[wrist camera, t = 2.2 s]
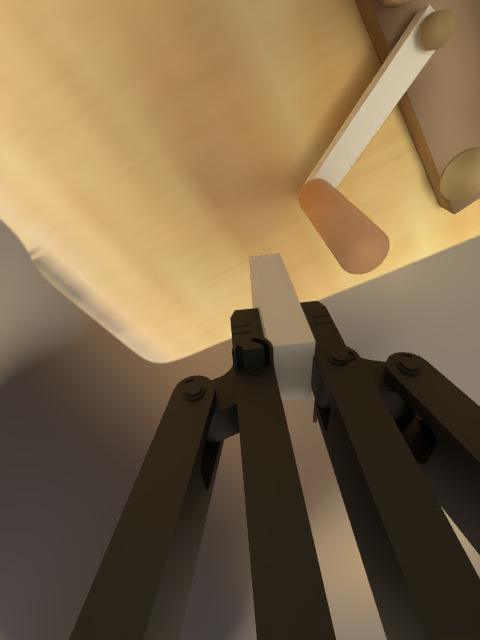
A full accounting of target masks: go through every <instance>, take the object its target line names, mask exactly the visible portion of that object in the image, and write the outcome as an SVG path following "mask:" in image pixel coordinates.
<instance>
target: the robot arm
mask: <svg viewBox="0 0 480 640" xmlns="http://www.w3.org/2000/svg"><path fill="white" fill-rule="evenodd" d="M249 262H250V277H251V292H252V305H253V309H244V310H235V311H234V313H233V315H232V316H231V318H230V319H231V331H232V343H233V348H232V356H233V366H232V368H231V369H230V370H229V371H228V372H227V373H226V374H225V375H223V376H221V377H219V378H216V379H214V380H210V379H208V378H207V377H204V376H200V375H199V376H191V377H188V378H185V379H183V380H182V381H181V382H179V383H178V384H177V386H176V387H175V389H174V391H173V393H172V395H171V398H170V400H169V403H168V405H167V407H166V410H165V412H164V415H163V417H162V419H161V422H160V424H159V427H158V429H157V431H156V434H155V436H154V438H153V441H152V443H151V446H150V448H149V450H148V452H147V455H146V457H145V460H144V462H143V464H142V467H141V469H140V471H139V474H138V476H137V479H136V481H135V483H134V486H133V488H132V491H131V493H130V495H129V498H128V500H127V502H126V505H125V507H124V510H123V512H122V515H121V517H120V519H119V522H118V524H117V526H116V529H115V532H114V533H113V536H112V538H111V541H110V543H109V545H108V548H107V550H106V553H105V555H104V557H103V560H102V562H101V564H100V567H99V569H98V572H97V574H96V577H95V579H94V581H93V584H92V586H91V588H90V591H89V593H88V595H87V598H86V600H85V603H84V605H83V607H82V610H81V612H80V615H79V617H78V620H77V622H76V625H75V627H74V629H73V631H72V634H71V636H70V639H69V640H179V638H180V634H181V629H182V625H183V620H184V616H185V611H186V606H187V602H188V598H189V594H190V589H191V584H192V580H193V576H194V571H195V567H196V562H197V558H198V553H199V549H200V545H201V540H202V536H203V531H204V527H205V522H206V518H207V513H208V509H209V504H210V500H211V496H212V491H213V486H214V482H215V478H216V473H217V469H218V464H219V460H220V455H221V451H222V446H223V442H224V439H226V438H228V437H231V436H233V435H235V434H237V433H240V443H241V456H242V468H243V480H244V492H245V504H246V516H247V527H248V539H249V550H250V563H251V574H252V587H253V597H254V609H255V622H256V633H257V640H336V637H335V633H334V629H333V624H332V620H331V615H330V611H329V607H328V602H327V598H326V593H325V589H324V584H323V580H322V576H321V571H320V567H319V562H318V558H317V554H316V549H315V545H314V540H313V536H312V532H311V527H310V523H309V518H308V514H307V510H306V505H305V501H304V497H303V492H302V487H301V483H300V479H299V474H298V470H297V466H296V461H295V457H294V452H293V448H292V444H291V439H290V435H289V430H288V426H287V421H286V417H285V413H284V408H283V404H282V400H290V399H298V398H308V397H311V389H312V391H313V394H314V397H315V403H314V413H313V422H314V423H315V422H316V421H317V419H318V421H319V425H320V428H321V431H322V434H323V438H324V441H325V444H326V447H327V450H328V454H329V457H330V460H331V463H332V466H333V469H334V473H335V476H336V479H337V482H338V485H339V489H340V491H341V495H342V498H343V501H344V504H345V508H346V511H347V514H348V517H349V520H350V523H351V527H352V530H353V533H354V536H355V539H356V542H357V546H358V549H359V552H360V555H361V558H362V562H363V564H364V568H365V571H366V574H367V578H368V581H369V584H370V587H371V590H372V593H373V597H374V600H375V603H376V606H377V609H378V612H379V616H380V619H381V622H382V625H383V628H384V632H385V635H386V638H387V640H480V578H479V576H478V575H477V573H476V571H475V569H474V567H473V565H472V563H471V562H470V560H469V558H468V556H467V554H466V552H465V551H464V549H463V547H462V545H461V543H460V541H459V539H458V538H457V536H456V534H455V532H454V530H453V528H452V526H451V525H450V523H449V521H448V519H447V517H446V515H445V514H444V512H443V510H442V508H443V509H444V510H445V511H446V513H447V514H448V516H449V517H450V518H451V519H452V521H453V522H454V523H455V524H456V525H457V527H458V528H459V529H460V531H461V532H462V533H463V534H464V536H465V537H466V538H467V539H468V541H469V542H470V543H471V545H472V546H473V547H474V548H475V550H476V551H477V552H478V554H479V555H480V406H478V405H477V404H476V403H475V402H474V401H472V400H471V399H470V398H469V397H468V396H467V395H466V394H465V393H463V392H462V391H461V390H460V389H459V388H458V387H456V386H455V385H454V384H453V383H452V382H451V381H449V380H448V379H447V378H446V377H445V376H444V375H442V374H441V373H440V372H439V371H438V370H437V369H435V368H434V367H433V366H432V365H430V363H428V362H427V361H426V360H424V359H423V358H421V357H420V356H417V355H415V354H412V353H405V352H399V353H394V354H392V355H390V356H389V357H388V359H387V361H386V362H381V361H374V360H368V359H363V358H361V357H360V356H359V355H358V354H357V353H356V352H355V351H354V350H353V349H351V348H349V347H347V346H346V345H345V343H344V341H343V339H342V338H341V335H340V334H339V331H338V329H337V328H336V326H335V324H334V323H333V320H332V318H331V317H330V314H329V312H328V310H327V308H326V307H325V306H324V305H322V304H321V303H320V302H318V301H311V302H302V303H300V302H299V300H298V297H297V295H296V292H295V290H294V287H293V285H292V282H291V280H290V277H289V275H288V272H287V270H286V268H285V265H284V263H283V260H282V258H281V255H280V254H271V255H261V256H251V257H249ZM440 505H441V506H440ZM441 507H442V508H441Z"/></svg>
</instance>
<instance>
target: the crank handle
mask: <svg viewBox="0 0 480 640" xmlns="http://www.w3.org/2000/svg"><path fill="white" fill-rule="evenodd" d="M432 12H435V10H434V9H433V8H432V7H431V6H430V5H428V6H425V7H422V8H420V9H419V10H418V12H417V13H416V15H415V16H414V18H413V19H412V21H411V22H410V24H409V25H408V27H407V28H406V30H405V31H404V33H403V34H402V36H401V37H400V39H399V41H398V42H397V44H396V45H395V47H394V48H393V50H392V51H391V53H390V54H389V56H388V57H387V59H386V60H385V62H384V63H383V65H382V66H381V68H380V69H379V71H378V72H377V74H376V75H375V77H374V78H373V80H372V81H371V83H370V84H369V86H368V87H367V89H366V91H365V92H364V94H363V95H362V97H361V98H360V100H359V101H358V103H357V104H356V106H355V107H354V109H353V110H352V112H351V113H350V115H349V116H348V118H347V119H346V121H345V122H344V124H343V125H342V127H341V128H340V130H339V131H338V133H337V134H336V136H335V137H334V139H333V141H332V142H331V144H330V145H329V147H328V148H327V150H326V151H325V153H324V154H323V156H322V157H321V159H320V160H319V162H318V163H317V165H316V166H315V168H314V169H313V171H312V172H311V174H310V175H309V177H308V178H307V180H306V181H305V183H304V184H303V187H302V189H301V191H300V194H299V204H300V206H301V208H302V210H303V211H304V212H305V214H306V215H307V217H308V218H309V220H310V221H311V223H312V224H313V226H314V227H315V229H316V230H317V232H318V233H319V234H320V236H321V237H322V239H323V240H324V242H325V243H326V245H327V246H328V248H329V249H330V251H331V252H332V254H333V255H334V257H335V258H336V259H337V261H338V262H339V264H340V265H341V267H342V268H343V269H344V270H345V271H347V272H349V273H351V274H364V273H367V272H370V271H372V270H373V269H375V268H376V267H378V266H379V265H380V264H381V263H382V262H383V260H384V259H385V258H386V256H387V253H388V250H389V239H388V237H387V235H386V234H385V233H384V232H383V231H382V230H381V229H380V228H379V227H378V226H376V225H375V224H374V223H373V222H372V221H371V220H370V219H369V218H368V217H366V216H365V215H364V214H363V213H362V212H361V211H360V210H359V209H358V208H356V207H355V206H354V205H353V204H352V203H351V202H350V201H349V200H348V199H346V198H345V197H344V196H343V195H342V194H341V193H340V192H339V191H338V190H336V188H337V186H338V185H339V183H340V182H341V181H342V179H343V178H344V177H345V175H346V174H347V172H348V171H349V170H350V168H351V167H352V165H353V164H354V163H355V161H356V160H357V158H358V157H359V156H360V154H361V153H362V152H363V150H364V149H365V147H366V146H367V145H368V143H369V142H370V140H371V139H372V138H373V136H374V135H375V133H376V132H377V131H378V129H379V128H380V127H381V125H382V124H383V122H384V121H385V120H386V118H387V117H388V115H389V114H390V113H391V111H392V110H393V109H394V107H395V106H396V104H397V103H398V102H399V100H400V99H401V97H402V96H403V95H404V93H405V92H406V90H407V89H408V88H409V86H410V85H411V84H412V82H413V81H414V79H415V78H416V77H417V75H418V74H419V72H420V71H421V70H422V68H423V67H424V65H425V64H426V63H427V61H428V60H429V59H430V57H431V56H432V54H433V53H434V52H435V50H431V51H425V50H423V49H422V48H421V47H420V46H419V43H418V32H419V29H420V26H421V24H422V22H423V21H424V19H425V18H426V17H427V16H428V15H429V14H431V13H432Z"/></svg>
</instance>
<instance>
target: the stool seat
mask: <svg viewBox="0 0 480 640" xmlns="http://www.w3.org/2000/svg"><path fill="white" fill-rule="evenodd" d="M355 1H356V4H357V6H358V9H359V11H360V13H361V16H362V18H363V21H364V23H365V26H366V28H367V30H368V33H369V35H370V38H371V40H372V42H373V45H374V47H375V50H376V52H377V55H378V57H379V59H380V62H381V64H382V65H383V63H384V62H385V60H386V59H387V57H388V56H389V54H390V53H391V51H392V50H393V48H394V47H395V45H396V44H397V42H398V41H399V39H400V37H401V36H402V34H403V33H404V31H405V30H406V28H407V27H408V25H409V24H410V22H411V21H412V19H413V18H414V16H415V15H416V13H417V12H418V10H419V9H420V8H422V7H425V6H428V5H430V6H431V7H432V8H433V9H434V10H435V12H432V13H431V14H429V15H428V16H427V17H426V18H425V19H424V21H423V22H422V24H421V26H420V29H419V32H418V43H419V46H420V47H421V48H422V49H423V50H425V51H431V50H435V52H434V53H433V54H432V56H431V57H430V59H429V60H428V61H427V63H426V64H425V65H424V67H423V68H422V70H421V71H420V72H419V74H418V75H417V77H416V78H415V79H414V81H413V82H412V84H411V85H410V86H409V88H408V89H407V90H406V92H405V93H404V95H403V96H402V97H401V99H400V100H399V102H398V105H399V108H400V110H401V113H402V115H403V117H404V120H405V122H406V125H407V127H408V130H409V132H410V134H411V137H412V139H413V142H414V144H415V146H416V149H417V151H418V154H419V156H420V159H421V161H422V163H423V166H424V168H425V171H426V173H427V176H428V178H429V180H430V183H431V185H432V188H433V190H434V192H435V195H436V197H437V200H438V202H439V205H440V206H441V207H442V208H444V209H446V210H448V211H449V212H451V213H453V214H456V213H457V212H459V211H460V210H462V209H464V208H465V207H467V206H468V205H470V204H471V203H473V202H474V201H476V200H477V199H479V198H480V0H355Z"/></svg>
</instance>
